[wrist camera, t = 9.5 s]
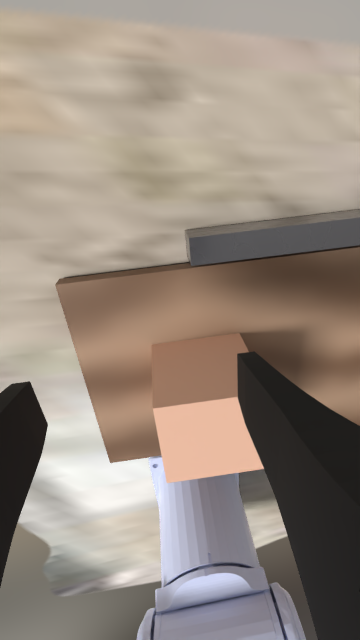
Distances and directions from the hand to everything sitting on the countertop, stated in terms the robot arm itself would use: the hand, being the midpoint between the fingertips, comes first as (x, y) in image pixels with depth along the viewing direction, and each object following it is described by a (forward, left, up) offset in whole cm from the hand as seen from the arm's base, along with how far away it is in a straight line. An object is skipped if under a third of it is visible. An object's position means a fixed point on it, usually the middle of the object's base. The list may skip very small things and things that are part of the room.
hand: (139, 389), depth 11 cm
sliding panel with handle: (-7, -7, -10) cm, 14 cm away
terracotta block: (-7, -3, -9) cm, 12 cm away
